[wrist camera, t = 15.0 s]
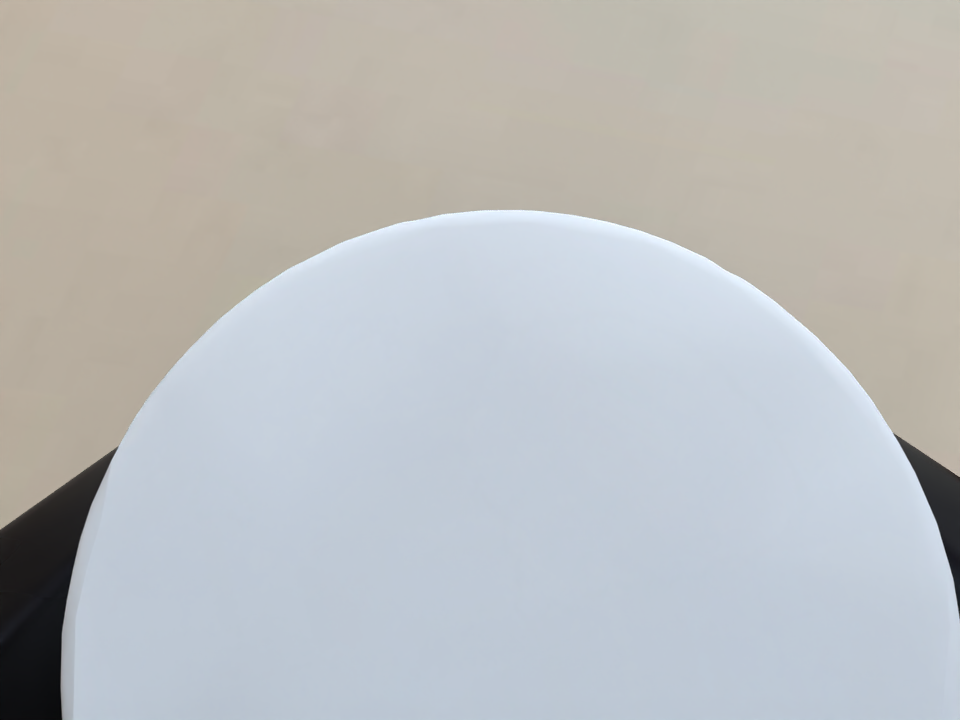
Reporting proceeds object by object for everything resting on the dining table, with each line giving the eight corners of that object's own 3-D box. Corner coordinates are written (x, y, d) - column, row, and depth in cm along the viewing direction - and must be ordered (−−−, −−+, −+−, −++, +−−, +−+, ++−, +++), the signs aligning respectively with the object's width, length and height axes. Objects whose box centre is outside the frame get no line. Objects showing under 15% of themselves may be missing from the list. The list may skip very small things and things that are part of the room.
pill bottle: (445, 326, 16) (328, -110, 6) (760, 505, 16) (1334, 402, 5) (253, 642, 15) (-345, 857, 5) (579, 849, 15) (788, 1706, 4)
